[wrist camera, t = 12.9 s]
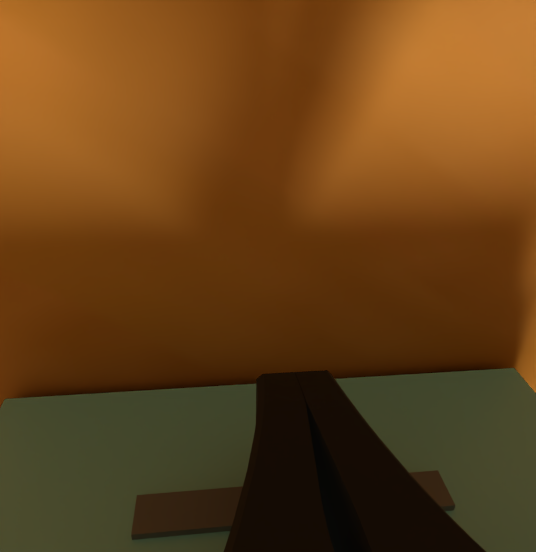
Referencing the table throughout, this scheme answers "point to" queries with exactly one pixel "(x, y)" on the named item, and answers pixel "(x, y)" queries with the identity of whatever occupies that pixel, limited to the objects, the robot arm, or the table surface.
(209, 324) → the table surface
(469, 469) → the tray
